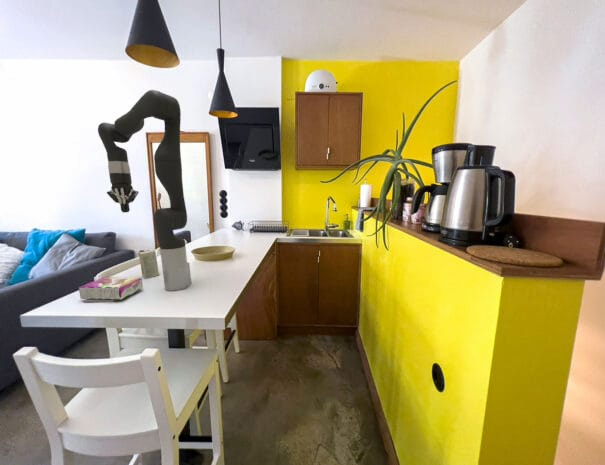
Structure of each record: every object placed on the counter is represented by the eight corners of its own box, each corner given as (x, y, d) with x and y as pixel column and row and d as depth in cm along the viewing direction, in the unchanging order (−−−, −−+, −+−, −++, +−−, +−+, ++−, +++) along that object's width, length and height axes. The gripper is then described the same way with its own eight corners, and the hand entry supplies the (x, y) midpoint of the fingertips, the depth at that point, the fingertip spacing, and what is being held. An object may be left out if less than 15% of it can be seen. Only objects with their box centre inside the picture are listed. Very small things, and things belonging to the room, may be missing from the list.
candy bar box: (104, 276, 98) (142, 277, 97) (106, 287, 99) (143, 288, 98) (77, 286, 87) (119, 287, 86) (79, 299, 88) (121, 300, 87)
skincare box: (156, 273, 118) (153, 249, 116) (159, 275, 115) (156, 250, 113) (141, 276, 113) (138, 252, 111) (143, 279, 110) (140, 253, 108)
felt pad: (139, 287, 101) (138, 285, 101) (113, 302, 87) (113, 300, 87) (113, 287, 101) (112, 285, 101) (83, 302, 87) (83, 300, 87)
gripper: (140, 173, 108) (145, 211, 111) (111, 173, 108) (117, 211, 111) (129, 171, 100) (134, 212, 103) (97, 172, 100) (104, 213, 103)
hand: (125, 212), depth 107 cm, fingers closed
